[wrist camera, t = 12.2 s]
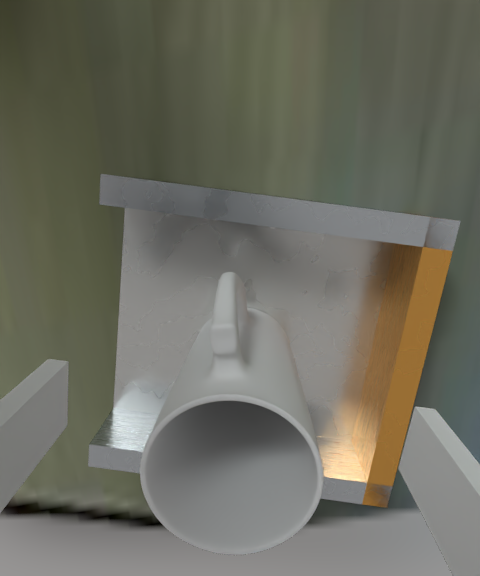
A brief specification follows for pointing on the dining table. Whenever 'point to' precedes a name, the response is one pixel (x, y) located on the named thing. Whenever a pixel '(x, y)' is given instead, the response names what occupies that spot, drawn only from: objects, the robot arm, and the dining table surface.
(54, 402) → the robot arm
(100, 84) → the dining table surface
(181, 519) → the mug
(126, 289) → the channel
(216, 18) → the dining table surface
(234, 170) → the dining table surface
